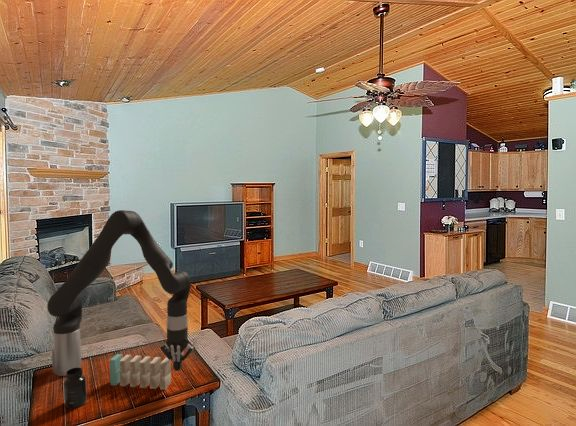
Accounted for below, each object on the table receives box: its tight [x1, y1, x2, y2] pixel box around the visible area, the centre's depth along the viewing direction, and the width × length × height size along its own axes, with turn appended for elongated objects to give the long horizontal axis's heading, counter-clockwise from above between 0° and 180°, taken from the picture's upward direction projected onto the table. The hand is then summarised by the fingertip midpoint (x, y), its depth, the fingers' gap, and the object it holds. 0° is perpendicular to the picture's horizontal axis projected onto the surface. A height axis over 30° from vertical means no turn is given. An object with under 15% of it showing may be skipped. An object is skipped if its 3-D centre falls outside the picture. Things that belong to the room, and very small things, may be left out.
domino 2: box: [119, 354, 133, 387], centre depth 144 cm, size 2×5×10 cm, turn 173°
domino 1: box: [109, 353, 123, 386], centre depth 144 cm, size 2×5×10 cm, turn 173°
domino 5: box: [149, 356, 162, 390], centre depth 143 cm, size 2×5×10 cm, turn 173°
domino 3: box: [129, 355, 142, 388], centre depth 143 cm, size 2×5×10 cm, turn 175°
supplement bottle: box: [62, 367, 88, 410], centre depth 130 cm, size 7×7×12 cm
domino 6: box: [159, 357, 172, 391], centre depth 142 cm, size 2×5×10 cm, turn 173°
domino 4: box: [139, 355, 152, 389], centre depth 143 cm, size 2×5×10 cm, turn 173°
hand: (177, 369), depth 141 cm, fingers closed
